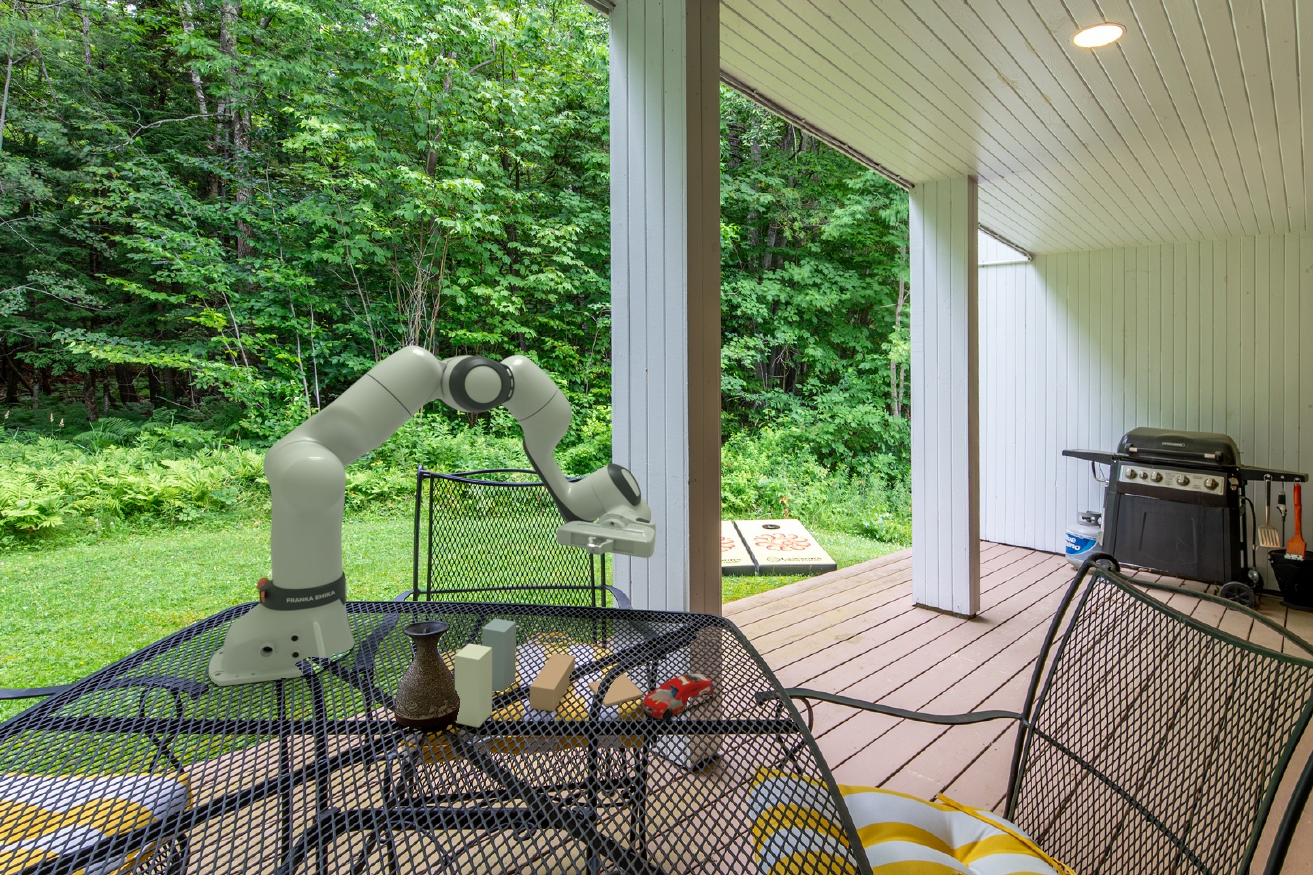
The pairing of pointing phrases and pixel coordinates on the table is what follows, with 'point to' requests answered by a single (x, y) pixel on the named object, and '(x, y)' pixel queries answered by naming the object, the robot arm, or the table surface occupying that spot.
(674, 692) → the race car
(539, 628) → the table surface
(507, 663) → the slate post
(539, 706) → the tan rectangular block
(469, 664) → the cream post
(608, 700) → the tile
